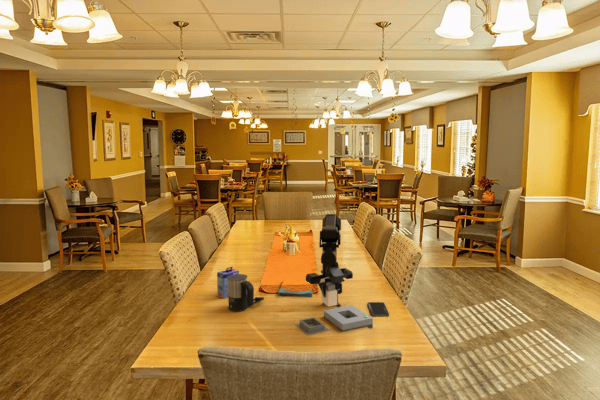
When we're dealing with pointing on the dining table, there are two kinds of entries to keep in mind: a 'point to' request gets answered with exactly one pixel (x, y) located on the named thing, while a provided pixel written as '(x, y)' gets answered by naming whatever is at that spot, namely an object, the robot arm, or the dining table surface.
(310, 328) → the holster
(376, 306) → the phone
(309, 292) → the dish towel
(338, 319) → the port
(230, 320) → the dining table surface
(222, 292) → the ink cartridge box
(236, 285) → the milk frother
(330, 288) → the plug
